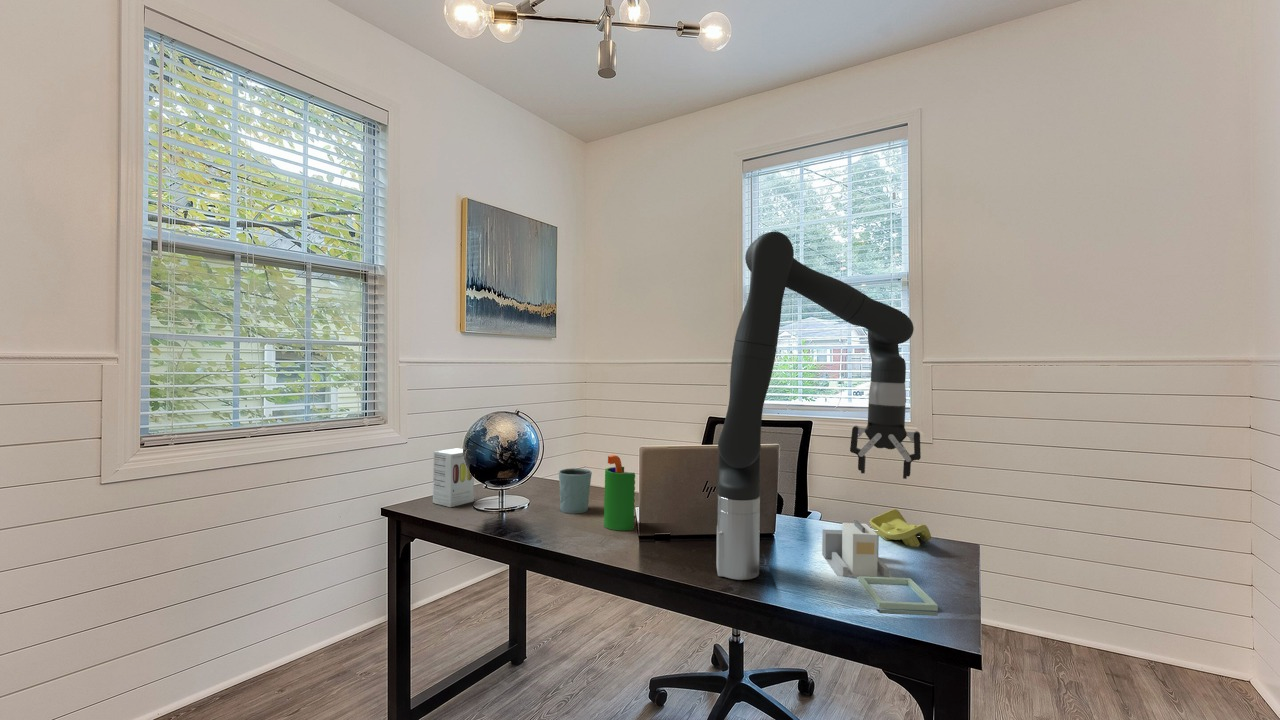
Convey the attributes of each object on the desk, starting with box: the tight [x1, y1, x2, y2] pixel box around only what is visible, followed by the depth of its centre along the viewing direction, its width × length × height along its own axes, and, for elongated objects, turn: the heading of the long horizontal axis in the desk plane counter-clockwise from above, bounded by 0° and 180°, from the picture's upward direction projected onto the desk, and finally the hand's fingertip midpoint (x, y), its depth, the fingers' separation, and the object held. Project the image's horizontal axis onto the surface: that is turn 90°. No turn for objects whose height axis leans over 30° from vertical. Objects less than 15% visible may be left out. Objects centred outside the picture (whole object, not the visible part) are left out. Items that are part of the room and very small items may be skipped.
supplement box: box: [432, 447, 475, 508], centre depth 179 cm, size 10×9×17 cm
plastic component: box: [868, 508, 932, 548], centre depth 145 cm, size 20×7×10 cm
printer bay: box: [821, 529, 895, 578], centre depth 125 cm, size 12×13×7 cm
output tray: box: [857, 576, 939, 617], centre depth 110 cm, size 11×13×2 cm
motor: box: [603, 454, 636, 532], centre depth 156 cm, size 10×9×20 cm
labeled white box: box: [841, 519, 879, 576], centre depth 123 cm, size 5×8×10 cm, turn 176°
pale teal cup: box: [558, 467, 593, 515], centre depth 172 cm, size 10×10×12 cm
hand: (883, 475), depth 123 cm, fingers open, 8 cm apart
